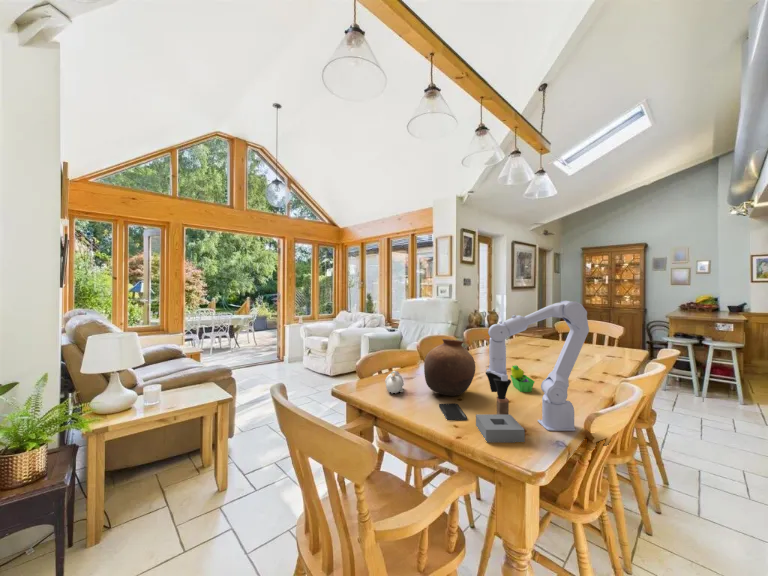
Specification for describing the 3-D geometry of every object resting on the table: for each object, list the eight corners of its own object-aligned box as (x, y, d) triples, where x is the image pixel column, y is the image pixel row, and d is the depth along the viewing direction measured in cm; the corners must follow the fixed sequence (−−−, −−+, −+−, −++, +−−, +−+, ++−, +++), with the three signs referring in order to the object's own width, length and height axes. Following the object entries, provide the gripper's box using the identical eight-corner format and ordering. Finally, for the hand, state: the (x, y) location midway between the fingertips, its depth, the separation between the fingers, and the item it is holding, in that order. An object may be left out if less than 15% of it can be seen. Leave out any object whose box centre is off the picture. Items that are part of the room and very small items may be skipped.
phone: (457, 403, 134) (467, 418, 119) (457, 406, 134) (467, 421, 119) (438, 403, 133) (446, 418, 118) (438, 406, 133) (446, 421, 118)
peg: (505, 418, 120) (505, 396, 120) (508, 421, 117) (508, 399, 117) (496, 418, 120) (496, 396, 120) (499, 421, 117) (499, 399, 117)
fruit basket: (535, 392, 148) (535, 368, 148) (516, 392, 149) (516, 368, 149) (525, 385, 160) (525, 362, 160) (507, 385, 160) (507, 362, 160)
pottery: (421, 400, 139) (421, 342, 139) (427, 384, 162) (427, 334, 162) (476, 404, 134) (476, 344, 134) (474, 387, 156) (474, 335, 156)
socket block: (510, 425, 114) (510, 414, 114) (524, 442, 102) (524, 429, 102) (475, 425, 114) (475, 414, 114) (486, 442, 102) (486, 429, 102)
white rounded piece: (396, 375, 144) (395, 363, 159) (381, 384, 144) (381, 371, 159) (407, 393, 145) (405, 379, 160) (392, 402, 145) (391, 387, 160)
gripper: (480, 353, 125) (481, 388, 125) (493, 362, 110) (493, 402, 110) (499, 353, 125) (499, 388, 125) (513, 362, 110) (514, 402, 110)
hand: (497, 395), depth 118 cm, fingers open, 7 cm apart
